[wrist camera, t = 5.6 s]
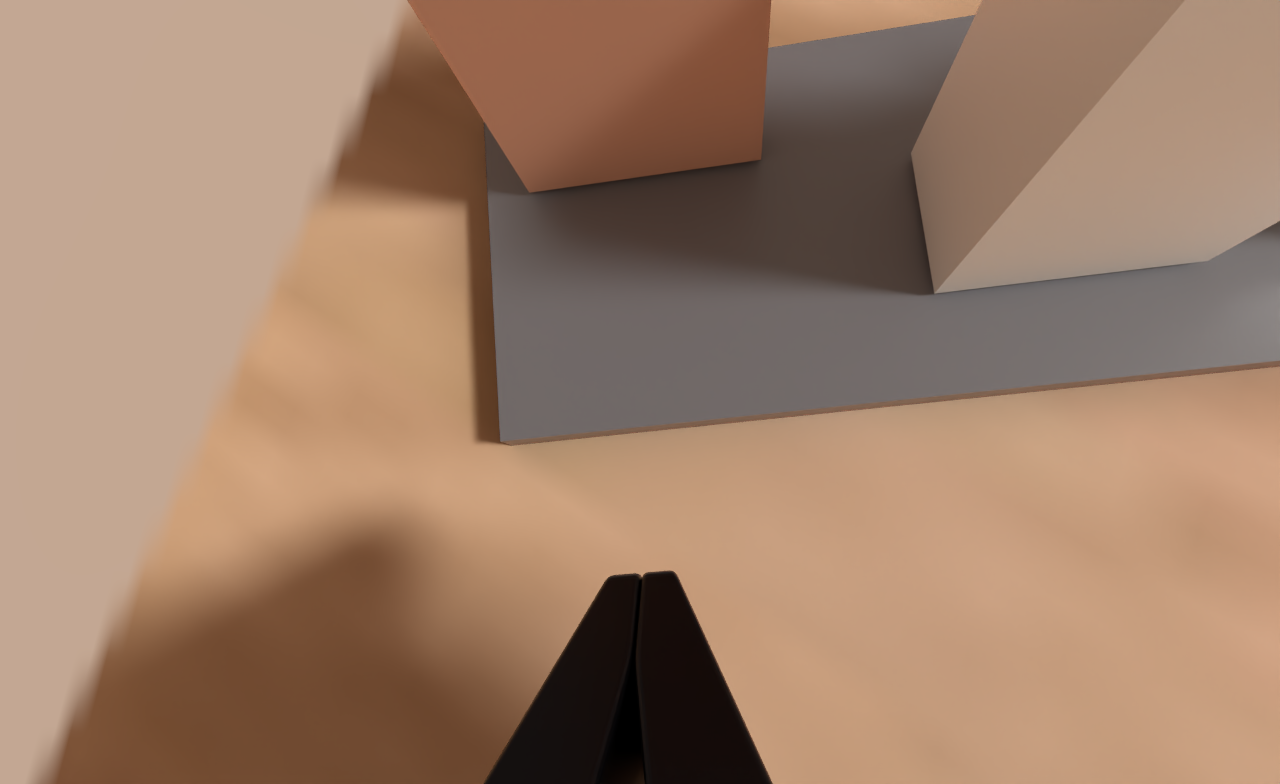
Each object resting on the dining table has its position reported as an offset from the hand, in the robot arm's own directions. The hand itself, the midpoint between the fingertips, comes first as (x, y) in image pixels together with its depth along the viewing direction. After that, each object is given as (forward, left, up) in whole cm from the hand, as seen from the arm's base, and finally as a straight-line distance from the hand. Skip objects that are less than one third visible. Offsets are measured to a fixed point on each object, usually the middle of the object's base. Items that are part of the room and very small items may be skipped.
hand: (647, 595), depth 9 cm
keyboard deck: (-6, -9, -6) cm, 12 cm away
